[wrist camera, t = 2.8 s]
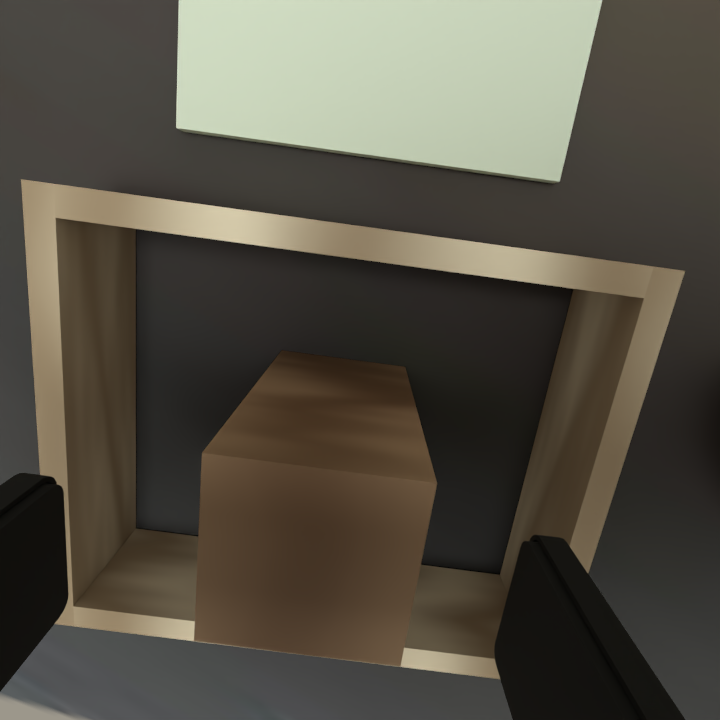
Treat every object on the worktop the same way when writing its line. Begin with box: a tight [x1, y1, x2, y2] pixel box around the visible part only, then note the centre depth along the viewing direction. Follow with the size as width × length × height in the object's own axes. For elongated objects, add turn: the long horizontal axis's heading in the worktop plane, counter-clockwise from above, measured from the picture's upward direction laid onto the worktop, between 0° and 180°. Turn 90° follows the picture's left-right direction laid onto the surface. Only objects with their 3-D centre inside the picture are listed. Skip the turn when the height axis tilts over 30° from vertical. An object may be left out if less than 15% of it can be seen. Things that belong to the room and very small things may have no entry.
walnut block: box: [194, 350, 437, 666], centre depth 13 cm, size 4×4×8 cm
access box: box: [21, 179, 685, 679], centre depth 15 cm, size 17×14×4 cm
